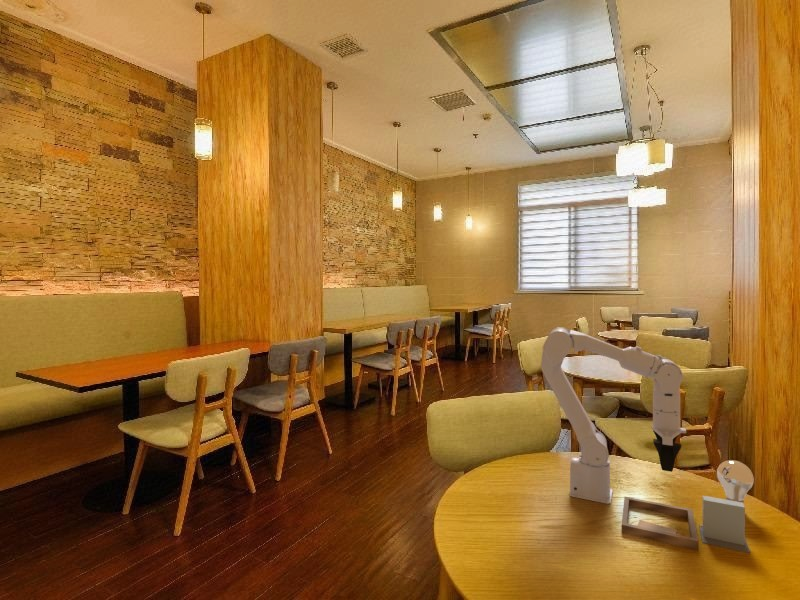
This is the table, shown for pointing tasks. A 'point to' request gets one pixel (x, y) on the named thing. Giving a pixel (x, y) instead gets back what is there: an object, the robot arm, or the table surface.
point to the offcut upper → (656, 527)
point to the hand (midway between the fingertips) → (666, 464)
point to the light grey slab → (724, 520)
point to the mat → (724, 543)
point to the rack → (656, 534)
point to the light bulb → (735, 479)
